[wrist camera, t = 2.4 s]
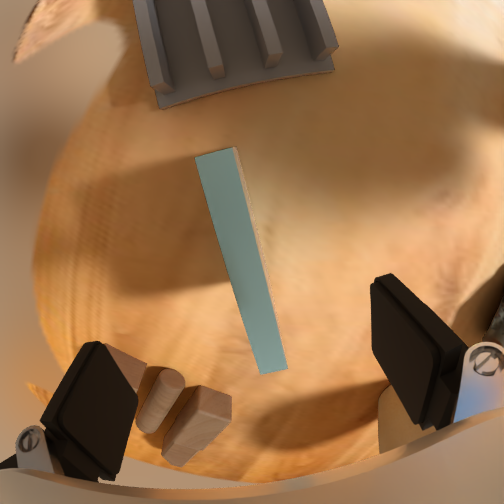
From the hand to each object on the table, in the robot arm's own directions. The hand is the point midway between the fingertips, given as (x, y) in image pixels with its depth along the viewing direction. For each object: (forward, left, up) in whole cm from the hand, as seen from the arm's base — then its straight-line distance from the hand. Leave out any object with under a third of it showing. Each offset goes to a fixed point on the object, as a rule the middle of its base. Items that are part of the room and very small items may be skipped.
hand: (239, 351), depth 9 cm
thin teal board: (0, 0, -18) cm, 18 cm away
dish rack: (-3, -20, -18) cm, 27 cm away
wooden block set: (+18, +22, -18) cm, 34 cm away
